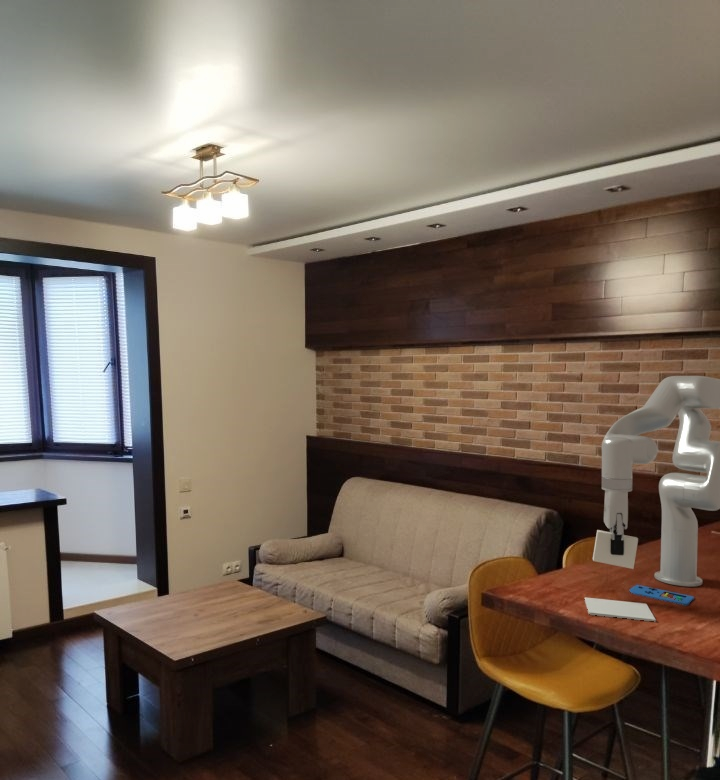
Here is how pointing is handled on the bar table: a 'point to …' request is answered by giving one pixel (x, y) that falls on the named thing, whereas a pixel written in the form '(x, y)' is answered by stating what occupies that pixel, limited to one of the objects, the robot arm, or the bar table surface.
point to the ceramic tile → (604, 550)
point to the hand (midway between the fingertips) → (616, 552)
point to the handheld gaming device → (661, 594)
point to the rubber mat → (619, 609)
